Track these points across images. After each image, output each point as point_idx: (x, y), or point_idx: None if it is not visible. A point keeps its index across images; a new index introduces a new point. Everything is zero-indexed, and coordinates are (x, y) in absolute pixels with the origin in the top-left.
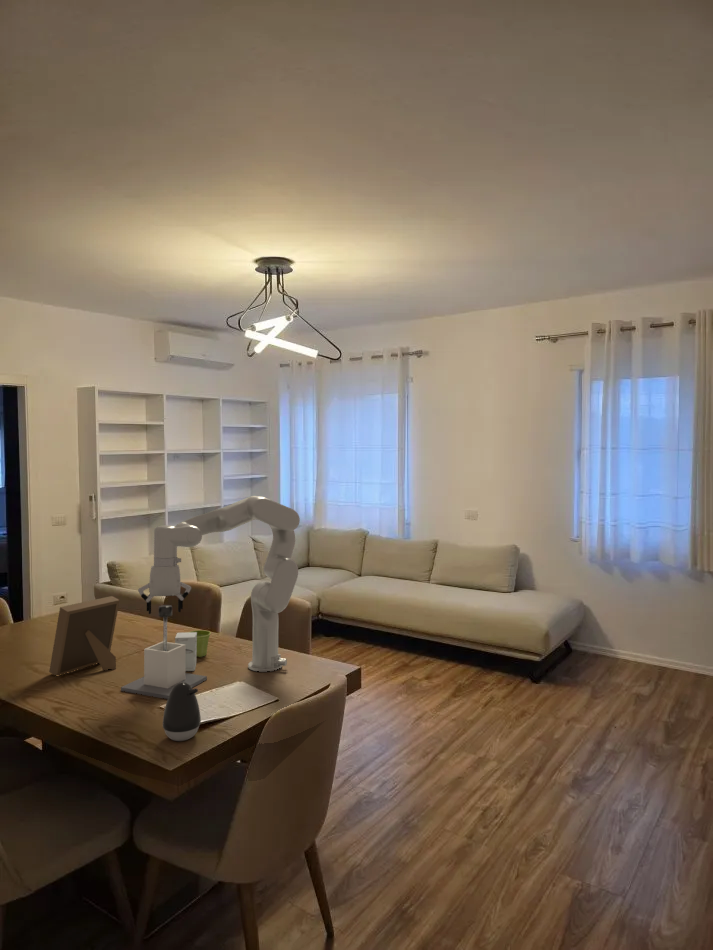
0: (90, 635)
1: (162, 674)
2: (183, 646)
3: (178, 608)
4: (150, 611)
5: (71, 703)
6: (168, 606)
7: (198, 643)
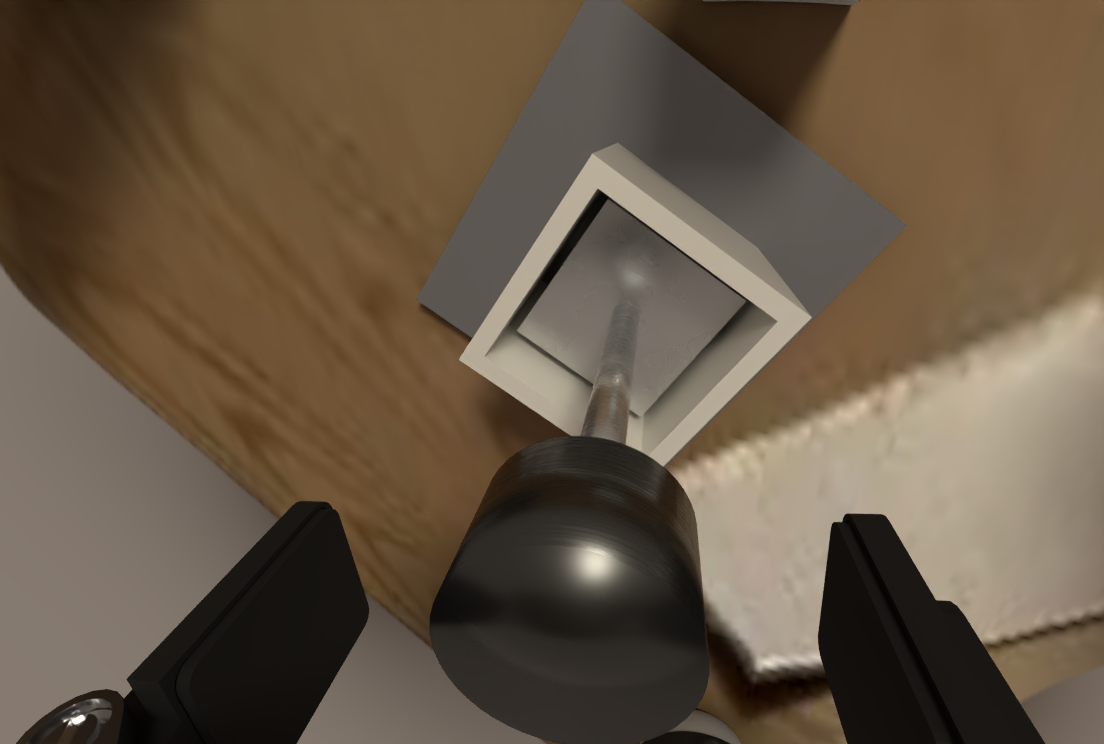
0: None
1: None
2: (785, 339)
3: (838, 693)
4: (345, 646)
5: (269, 389)
6: (629, 674)
7: None
